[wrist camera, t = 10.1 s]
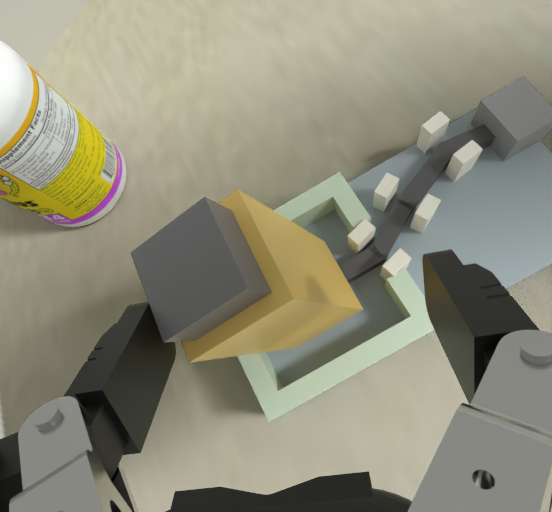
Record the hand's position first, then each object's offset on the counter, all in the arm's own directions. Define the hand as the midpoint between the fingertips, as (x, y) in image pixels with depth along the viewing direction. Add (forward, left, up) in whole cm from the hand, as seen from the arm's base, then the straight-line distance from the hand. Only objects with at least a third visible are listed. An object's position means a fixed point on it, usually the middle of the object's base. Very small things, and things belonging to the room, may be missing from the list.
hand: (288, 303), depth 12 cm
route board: (-6, -2, -10) cm, 12 cm away
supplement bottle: (+9, -16, -11) cm, 21 cm away
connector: (-1, -2, -9) cm, 9 cm away
